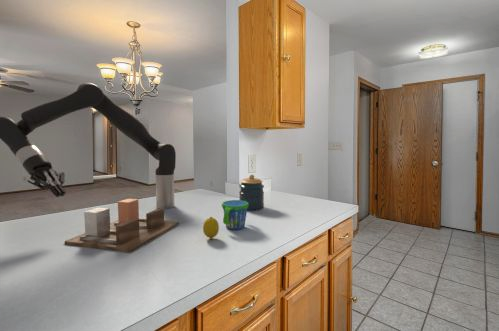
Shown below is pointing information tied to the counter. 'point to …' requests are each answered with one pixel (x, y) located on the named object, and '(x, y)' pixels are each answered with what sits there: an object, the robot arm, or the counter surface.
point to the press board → (128, 233)
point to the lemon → (210, 227)
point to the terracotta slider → (128, 210)
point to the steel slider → (97, 222)
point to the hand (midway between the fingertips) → (61, 195)
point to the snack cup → (235, 214)
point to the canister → (252, 193)
